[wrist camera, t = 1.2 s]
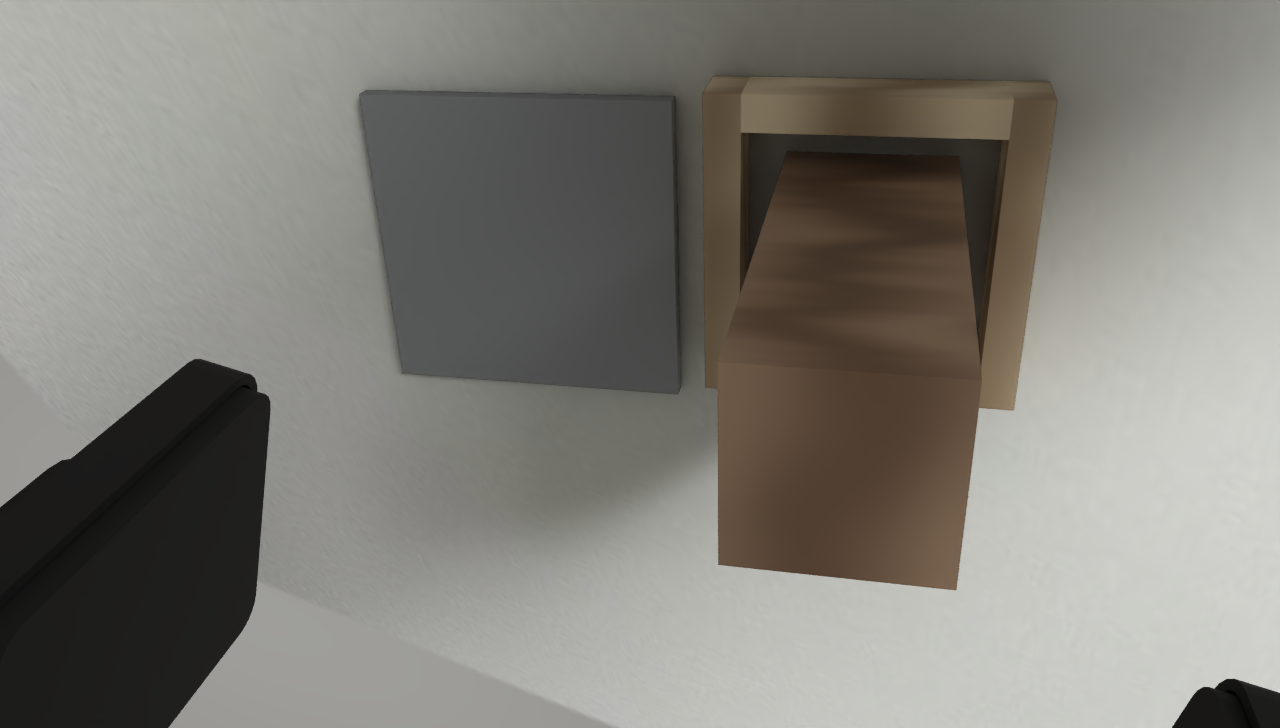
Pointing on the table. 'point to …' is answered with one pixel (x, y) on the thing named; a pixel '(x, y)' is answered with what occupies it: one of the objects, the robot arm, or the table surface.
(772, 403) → the walnut block
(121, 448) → the robot arm
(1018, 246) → the pocket
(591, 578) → the table surface
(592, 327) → the mat
